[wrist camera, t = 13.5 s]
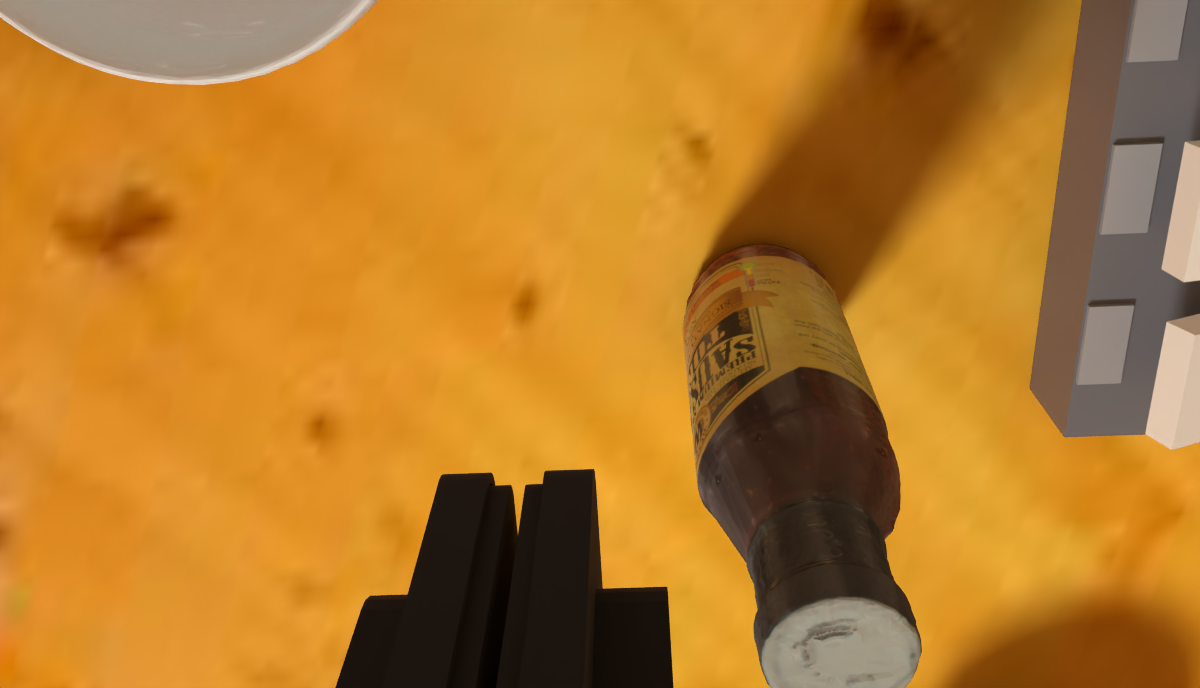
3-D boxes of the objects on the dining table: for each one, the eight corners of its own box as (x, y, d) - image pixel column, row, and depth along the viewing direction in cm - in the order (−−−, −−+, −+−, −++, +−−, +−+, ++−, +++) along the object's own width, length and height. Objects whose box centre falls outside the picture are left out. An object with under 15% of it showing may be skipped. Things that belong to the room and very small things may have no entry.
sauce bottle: (702, 222, 43) (759, 513, 25) (854, 255, 43) (1016, 563, 26) (662, 366, 46) (688, 720, 28) (805, 396, 46) (921, 762, 28)
